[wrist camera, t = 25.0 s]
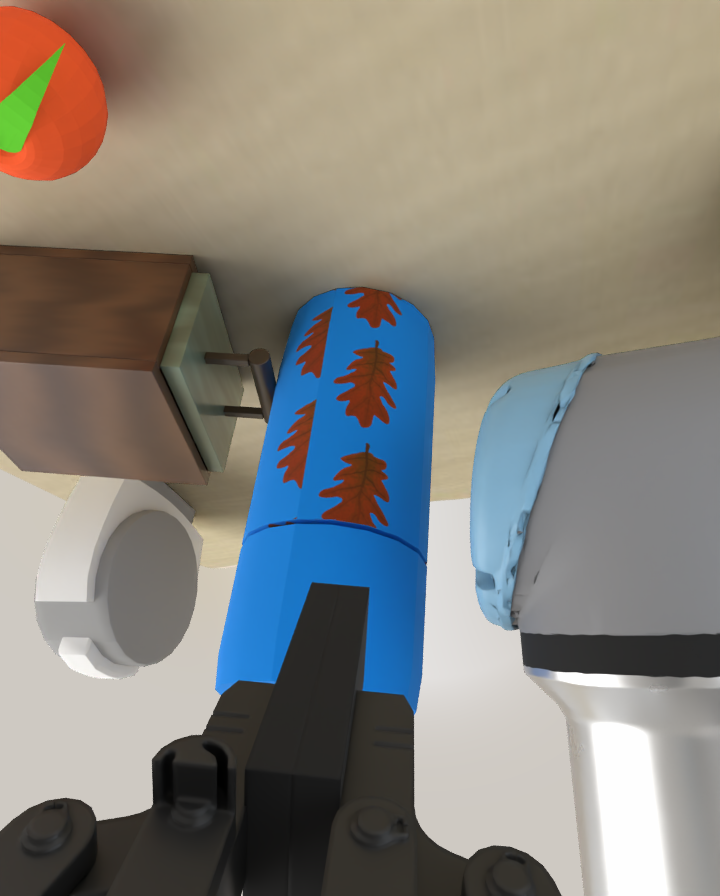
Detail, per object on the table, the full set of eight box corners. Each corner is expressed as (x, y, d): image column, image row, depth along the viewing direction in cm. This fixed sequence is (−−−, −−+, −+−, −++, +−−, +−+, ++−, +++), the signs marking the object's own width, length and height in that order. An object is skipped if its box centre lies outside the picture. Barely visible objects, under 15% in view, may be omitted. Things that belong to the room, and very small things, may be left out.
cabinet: (192, 255, 40) (152, 371, 35) (233, 384, 51) (207, 485, 46) (-23, 243, 41) (-93, 355, 36) (64, 373, 52) (21, 471, 47)
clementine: (21, -85, 25) (-57, -4, 21) (165, 56, 29) (120, 144, 26) (-48, 47, 30) (-121, 132, 26) (85, 152, 34) (37, 238, 30)
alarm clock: (71, 452, 64) (-8, 649, 54) (141, 447, 62) (72, 652, 51) (162, 525, 79) (114, 692, 68) (222, 523, 76) (181, 696, 66)
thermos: (399, 399, 51) (372, 728, 38) (274, 361, 48) (198, 700, 35) (463, 316, 42) (457, 707, 29) (314, 263, 39) (233, 667, 26)
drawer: (275, 276, 39) (252, 372, 35) (296, 393, 50) (280, 476, 46) (9, 262, 41) (-43, 352, 37) (84, 378, 51) (51, 459, 47)
